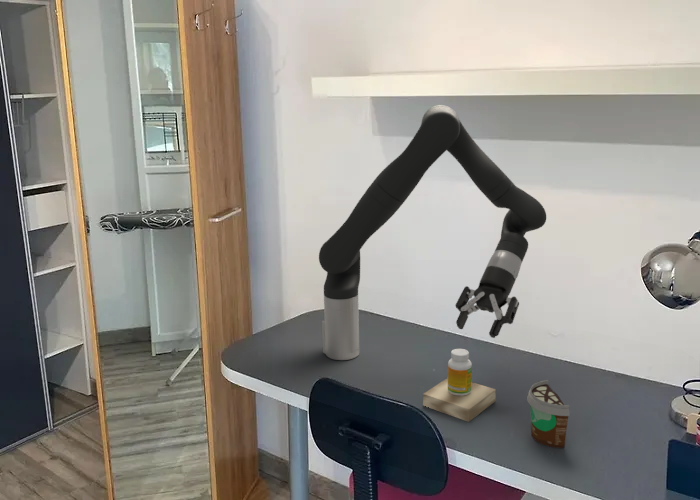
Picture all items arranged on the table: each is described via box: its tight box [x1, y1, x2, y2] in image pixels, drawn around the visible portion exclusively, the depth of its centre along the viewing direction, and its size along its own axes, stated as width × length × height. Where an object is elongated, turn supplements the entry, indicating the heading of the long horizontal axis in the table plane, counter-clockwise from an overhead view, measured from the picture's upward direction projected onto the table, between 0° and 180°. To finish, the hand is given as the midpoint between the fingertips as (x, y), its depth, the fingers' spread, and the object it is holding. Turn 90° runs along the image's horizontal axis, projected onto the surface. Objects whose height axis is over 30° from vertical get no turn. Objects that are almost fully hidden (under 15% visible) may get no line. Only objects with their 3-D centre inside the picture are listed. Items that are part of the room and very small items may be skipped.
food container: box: [526, 379, 571, 449], centre depth 139 cm, size 12×6×10 cm, turn 5°
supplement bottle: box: [447, 348, 473, 396], centre depth 153 cm, size 5×5×10 cm
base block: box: [422, 377, 497, 423], centre depth 154 cm, size 12×12×3 cm
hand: (475, 331), depth 155 cm, fingers open, 8 cm apart
